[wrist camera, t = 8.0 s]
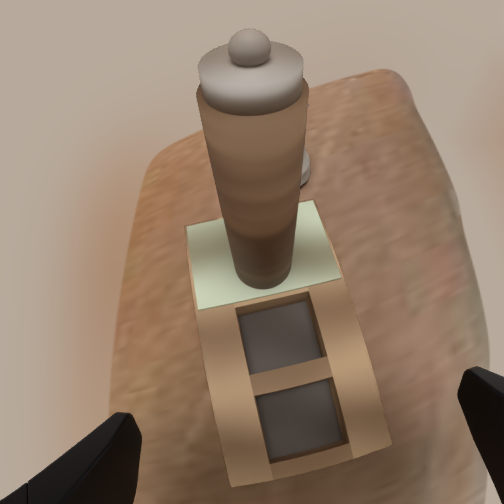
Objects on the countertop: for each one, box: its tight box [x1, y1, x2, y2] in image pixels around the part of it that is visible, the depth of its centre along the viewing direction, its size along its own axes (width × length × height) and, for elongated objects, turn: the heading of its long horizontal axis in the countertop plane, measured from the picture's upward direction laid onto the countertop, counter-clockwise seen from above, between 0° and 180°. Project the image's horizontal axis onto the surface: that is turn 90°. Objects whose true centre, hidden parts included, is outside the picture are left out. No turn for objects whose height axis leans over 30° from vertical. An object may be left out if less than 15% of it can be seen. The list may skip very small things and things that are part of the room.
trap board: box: [184, 199, 392, 487], centre depth 18 cm, size 16×9×2 cm, turn 12°
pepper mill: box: [196, 29, 309, 290], centre depth 13 cm, size 3×3×14 cm
